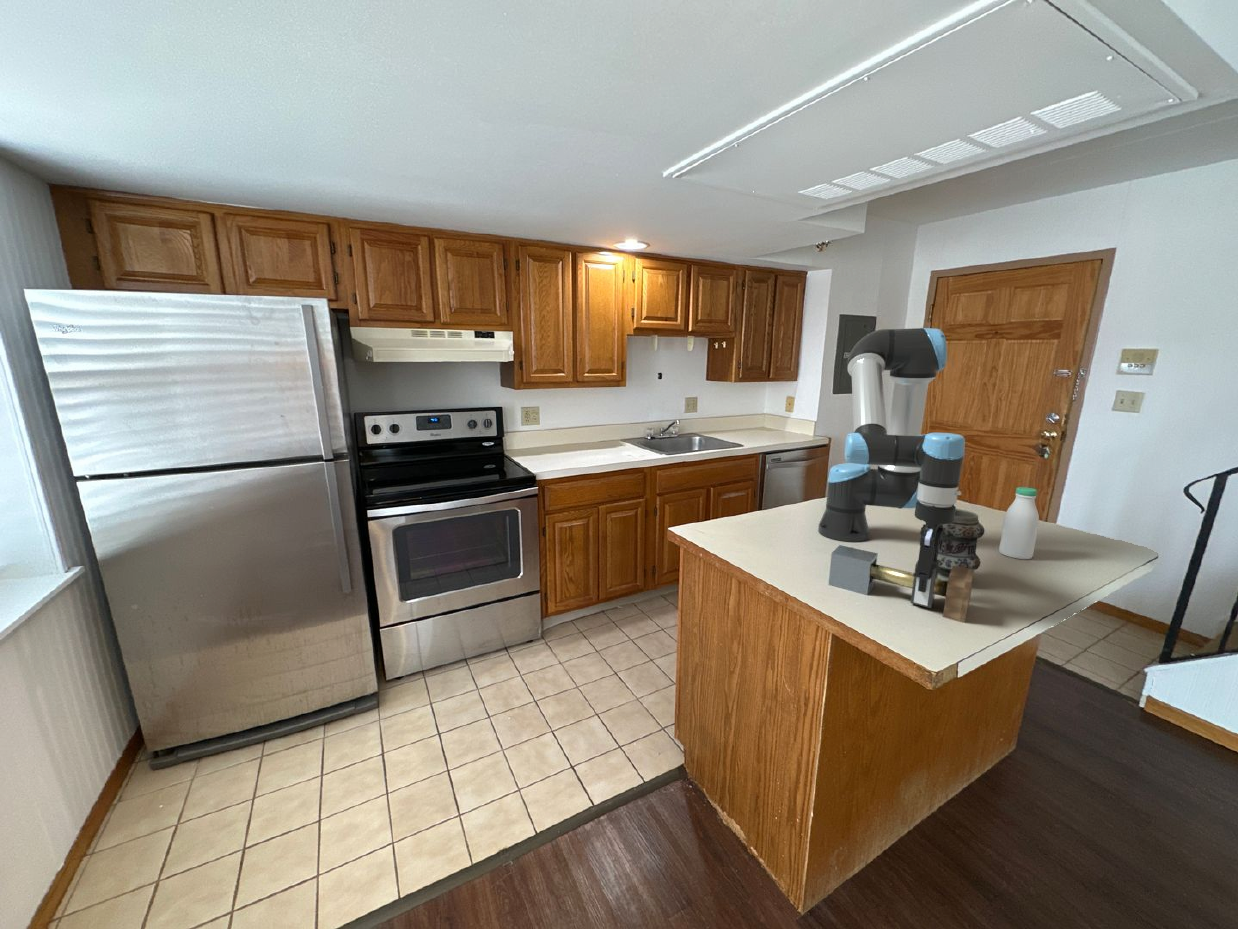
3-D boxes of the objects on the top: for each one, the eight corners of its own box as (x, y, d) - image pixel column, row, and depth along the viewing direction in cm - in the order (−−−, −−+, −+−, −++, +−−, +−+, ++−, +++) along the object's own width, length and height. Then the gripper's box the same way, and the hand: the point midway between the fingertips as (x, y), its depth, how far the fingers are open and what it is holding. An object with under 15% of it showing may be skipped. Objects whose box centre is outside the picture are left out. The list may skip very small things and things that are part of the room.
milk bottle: (1038, 561, 138) (1051, 492, 133) (1007, 559, 139) (1019, 491, 135) (1022, 551, 145) (1034, 485, 141) (993, 549, 146) (1003, 484, 142)
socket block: (942, 616, 108) (948, 576, 106) (947, 603, 114) (953, 565, 112) (964, 622, 105) (971, 581, 103) (968, 608, 111) (974, 569, 109)
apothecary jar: (964, 571, 131) (974, 506, 128) (986, 591, 120) (997, 521, 116) (914, 567, 134) (922, 504, 130) (931, 586, 122) (941, 517, 119)
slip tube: (859, 589, 120) (863, 553, 118) (864, 582, 124) (868, 547, 122) (957, 615, 107) (963, 575, 105) (959, 606, 111) (965, 567, 109)
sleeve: (828, 584, 123) (831, 553, 122) (836, 575, 129) (839, 545, 127) (867, 595, 118) (870, 562, 116) (874, 585, 123) (877, 553, 121)
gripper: (950, 515, 99) (935, 619, 104) (960, 497, 113) (947, 589, 118) (909, 508, 104) (896, 608, 109) (923, 491, 118) (911, 581, 123)
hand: (922, 598), depth 113 cm, fingers closed on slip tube, 5 cm apart
